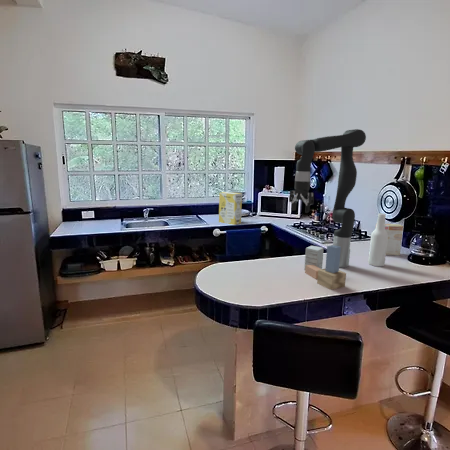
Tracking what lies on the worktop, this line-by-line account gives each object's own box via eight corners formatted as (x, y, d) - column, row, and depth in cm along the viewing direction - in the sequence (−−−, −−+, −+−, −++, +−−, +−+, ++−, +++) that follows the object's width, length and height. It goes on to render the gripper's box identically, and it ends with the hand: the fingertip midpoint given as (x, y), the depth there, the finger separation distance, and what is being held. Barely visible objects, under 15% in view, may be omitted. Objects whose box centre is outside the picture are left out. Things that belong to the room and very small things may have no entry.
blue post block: (330, 269, 162) (332, 245, 160) (338, 271, 158) (340, 246, 157) (325, 270, 159) (327, 246, 157) (333, 273, 155) (335, 248, 154)
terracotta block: (305, 273, 176) (305, 265, 175) (312, 272, 178) (313, 264, 177) (315, 279, 167) (316, 271, 166) (323, 279, 168) (324, 270, 168)
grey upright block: (309, 267, 186) (311, 245, 184) (322, 270, 182) (324, 247, 179) (303, 270, 181) (305, 247, 178) (316, 273, 176) (318, 250, 174)
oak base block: (330, 280, 166) (331, 267, 165) (344, 287, 158) (346, 273, 157) (317, 283, 162) (318, 269, 160) (330, 290, 154) (332, 275, 153)
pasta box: (241, 223, 312) (242, 193, 306) (234, 224, 303) (235, 194, 298) (225, 220, 322) (226, 191, 317) (218, 222, 314) (219, 192, 309)
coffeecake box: (395, 252, 222) (399, 224, 218) (400, 255, 215) (404, 226, 211) (372, 251, 223) (375, 223, 219) (376, 254, 216) (379, 225, 212)
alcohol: (375, 261, 200) (381, 212, 194) (387, 266, 192) (394, 214, 186) (364, 263, 197) (370, 212, 191) (376, 267, 189) (382, 215, 183)
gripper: (318, 181, 168) (315, 212, 171) (296, 179, 179) (294, 209, 182) (308, 181, 163) (306, 214, 166) (287, 179, 174) (285, 210, 178)
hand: (300, 211), depth 174 cm, fingers open, 8 cm apart
